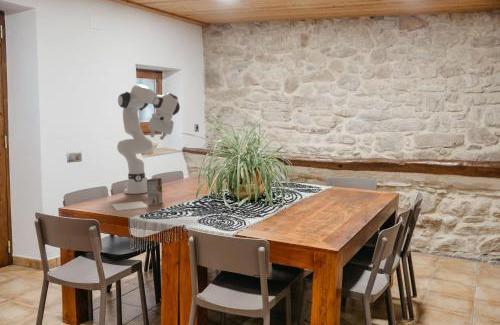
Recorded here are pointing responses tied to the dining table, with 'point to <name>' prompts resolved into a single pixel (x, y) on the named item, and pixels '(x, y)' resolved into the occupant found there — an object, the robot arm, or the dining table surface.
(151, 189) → the coffee box
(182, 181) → the dining table surface
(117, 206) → the mat
